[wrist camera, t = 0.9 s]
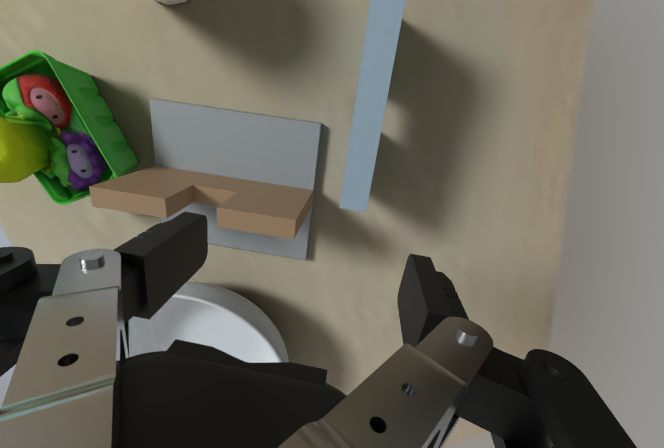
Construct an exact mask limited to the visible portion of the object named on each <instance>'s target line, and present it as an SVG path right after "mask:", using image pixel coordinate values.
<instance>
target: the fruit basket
mask: <svg viewBox="0 0 664 448" xmlns="http://www.w3.org/2000/svg"><path fill="white" fill-rule="evenodd" d="M138 164H139V162H138V160H137V158H136V156H135V154H134V153H133V151H132V150H131V149H130V147H129V146H127V140H126V138H125V136H124V135H123V133H122V131H121V129H120V127H119V126H118V125H117V124H116V122H114V119H113V115H112V113H111V111H110V110H109V108H108V106H107V104H106V102H105V101H104V100H103V98H102V97H101V96H99V91H98V88H97V86H96V84H95V83H94V81H93V79H92V77H91V76H90V75H89V74H88V73H85V72H83V71H81V70H78V69H76V68H73V67H71V66H69V65H66V64H64V63H62V62H59V61H57V60H55V59H54V58H52V57H51V56H49V55H47V54H45V53H43V52H41V51H39V50H32V51H29V52H28V53H26V54H24V55H22V56H20V57H19V58H17V59H15V60H13V61H11V62H9V63H8V64H6V65H4V66H2V67H0V183H13V182H19V181H21V180H23V179H25V178H27V177H28V176H30V175H32V174H34V175H35V177H36V178H37V179H38V181H39V182H40V184H41V185H42V186H43V188H44V189H45V191H46V192H47V193H48V195H49V196H50V198H51V199H52V200H53V201H54V202H55V203H57V204H60V205H66V204H69V203H71V202H74V201H77V200H79V199H82V198H85V197H87V196H90V189H89V186H92V185H95V184H98V183H101V182H105V181H108V180H111V179H114V178H117V177H120V176H123V175H126V174H127V173H128V172H130V171H131V170H132V169H133V168H134V167H136V166H137V165H138Z"/></svg>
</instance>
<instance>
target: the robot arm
mask: <svg viewBox="0 0 664 448" xmlns="http://www.w3.org/2000/svg"><path fill="white" fill-rule="evenodd" d="M207 252H208V223H207V217H206V216H205V215H202V214H197V213H192V212H186V211H185V212H183V213H181V214H180V215H178V216H176V217H175V218H173V219H172V220H170V221H166V222H163V223H160V224H156V225H154V226H153V227H151V228H149V229H148V230H146V232H143V233H141V234H139V235H138V237H134V238H133V239H131V240H129V241H128V242H126V243H124V244H123V245H121V246H119V247H118V248H116V249H114V250H109V249H92V250H86V251H82V252H78V253H75V254H73V255H71V256H69V257H67V258H66V259H64V260H63V262H62V263H61V264H36V262H35V258H34V254H33V251H32V250H30V249H28V248H24V247H2V248H0V376H1V375H3V374H4V373H5V372H7V371H8V370H9V369H10V368H12V367H13V366H14V365H15V364H16V367H15V369H14V372H13V375H12V378H11V381H10V384H9V387H8V390H7V393H6V395H5V399H4V401H3V404H2V407H1V409H0V448H442V447H443V445H444V443H445V442H446V440H447V439H448V437H449V435H450V434H451V432H452V430H453V429H454V427H455V426H456V424H457V422H458V421H459V419H460V417H461V418H463V419H465V420H467V421H469V422H471V423H473V424H475V425H477V426H479V427H481V428H483V429H485V430H487V431H489V432H491V436H492V439H493V442H494V445H495V448H637V447H636V446H635V444H634V443H633V442H632V440H631V439H630V437H629V436H628V435H627V434H626V432H625V430H624V429H623V428H622V426H621V425H620V424H619V422H618V421H617V419H616V418H615V417H614V415H613V414H612V412H611V411H610V410H609V408H608V407H607V405H606V404H605V403H604V401H603V400H602V399H601V397H600V396H599V394H598V393H597V391H596V390H595V389H594V387H593V386H592V385H591V383H590V382H589V380H588V379H587V378H586V376H585V375H584V374H583V373H582V372H581V371H580V370H579V369H578V368H577V367H576V366H575V365H573V364H572V363H571V362H569V361H568V360H566V359H564V358H563V357H561V356H559V355H557V354H555V353H552V352H549V351H546V350H541V349H534V350H531V351H529V352H528V354H527V356H526V357H525V359H524V360H523V359H520V358H518V357H515V356H513V355H510V354H508V353H505V352H503V351H501V350H499V349H497V348H495V347H493V340H492V338H491V336H490V335H489V334H488V332H487V331H486V330H484V329H483V328H482V327H481V326H479V325H478V324H476V323H474V322H472V321H470V320H469V319H468V316H467V314H466V312H465V310H464V308H463V305H462V303H461V301H460V299H459V297H458V294H457V292H455V288H454V286H453V283H452V281H451V280H450V279H449V278H448V277H447V276H446V275H445V274H443V273H442V272H437V271H436V270H435V268H434V265H433V263H432V260H431V258H430V257H425V256H420V255H415V254H410V255H409V257H408V259H407V263H406V266H405V270H404V273H403V277H402V280H401V284H400V288H399V292H398V310H399V317H400V324H401V331H402V337H403V344H404V345H403V346H402V347H401V348H400V349H399V350H398V351H396V352H395V353H394V354H393V355H392V356H391V357H390V358H389V359H388V360H387V361H385V362H384V363H383V364H382V365H381V366H380V367H379V368H378V369H377V370H375V371H374V372H373V373H372V374H371V375H370V376H369V377H368V378H367V379H365V380H364V381H363V382H362V383H361V384H360V385H359V386H358V387H357V388H355V389H354V390H353V391H352V392H351V393H350V394H349V395H348V396H346V395H345V394H344V393H342V392H341V391H340V390H338V389H336V388H335V387H333V386H331V385H329V384H327V383H325V382H326V376H327V370H325V369H320V368H315V367H310V366H305V365H301V364H296V363H291V362H267V363H249V362H245V361H242V360H240V359H238V358H236V357H234V356H231V355H229V354H227V353H225V352H223V351H221V350H219V349H217V348H214V347H212V346H207V345H202V344H197V343H192V342H188V341H183V340H178V339H175V341H174V342H173V343H172V344H171V346H170V347H169V348H168V349H167V351H156V352H149V353H143V354H139V355H135V356H132V357H131V350H130V325H129V320H130V319H131V318H132V317H133V316H134V317H139V318H144V319H149V320H150V318H151V317H152V316H153V315H154V314H155V313H156V312H157V311H158V310H159V309H160V308H161V307H162V306H163V305H164V304H165V303H166V302H167V301H168V300H169V299H170V298H171V297H172V296H173V295H174V294H175V293H176V292H177V291H178V290H179V289H180V288H181V287H182V286H183V285H184V284H185V283H186V282H187V281H188V280H189V279H190V278H191V277H192V276H193V275H194V274H195V273H196V272H197V271H198V270H199V269H200V268H201V267H202V266H203V264H204V262H205V260H206V257H207Z"/></svg>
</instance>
